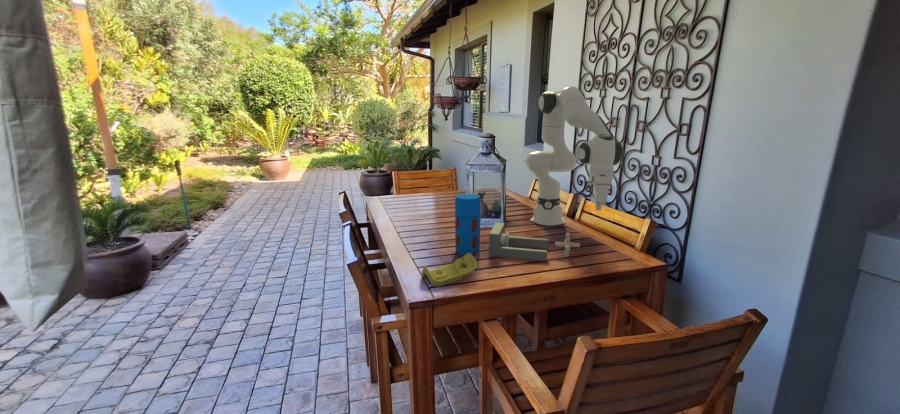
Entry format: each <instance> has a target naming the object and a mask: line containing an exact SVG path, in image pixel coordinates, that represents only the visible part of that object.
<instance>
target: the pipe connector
mask: <svg viewBox="0 0 900 414" xmlns="http://www.w3.org/2000/svg"><path fill="white" fill-rule="evenodd" d="M554 245H555V247H564V253H563V254H564V257H566V258H567V257H568V258H569V256H570V251H571V248H580V247H581V243H580V242H571V233H570V232H566V233H565V239H564V241H555V242H554Z"/></svg>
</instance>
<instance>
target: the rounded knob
mask: <svg viewBox="0 0 900 414" xmlns="http://www.w3.org/2000/svg"><path fill="white" fill-rule="evenodd" d="M509 236H510V232H506V233H504V234H501V245H503V246H505V247H509V246H508V245H509Z"/></svg>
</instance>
